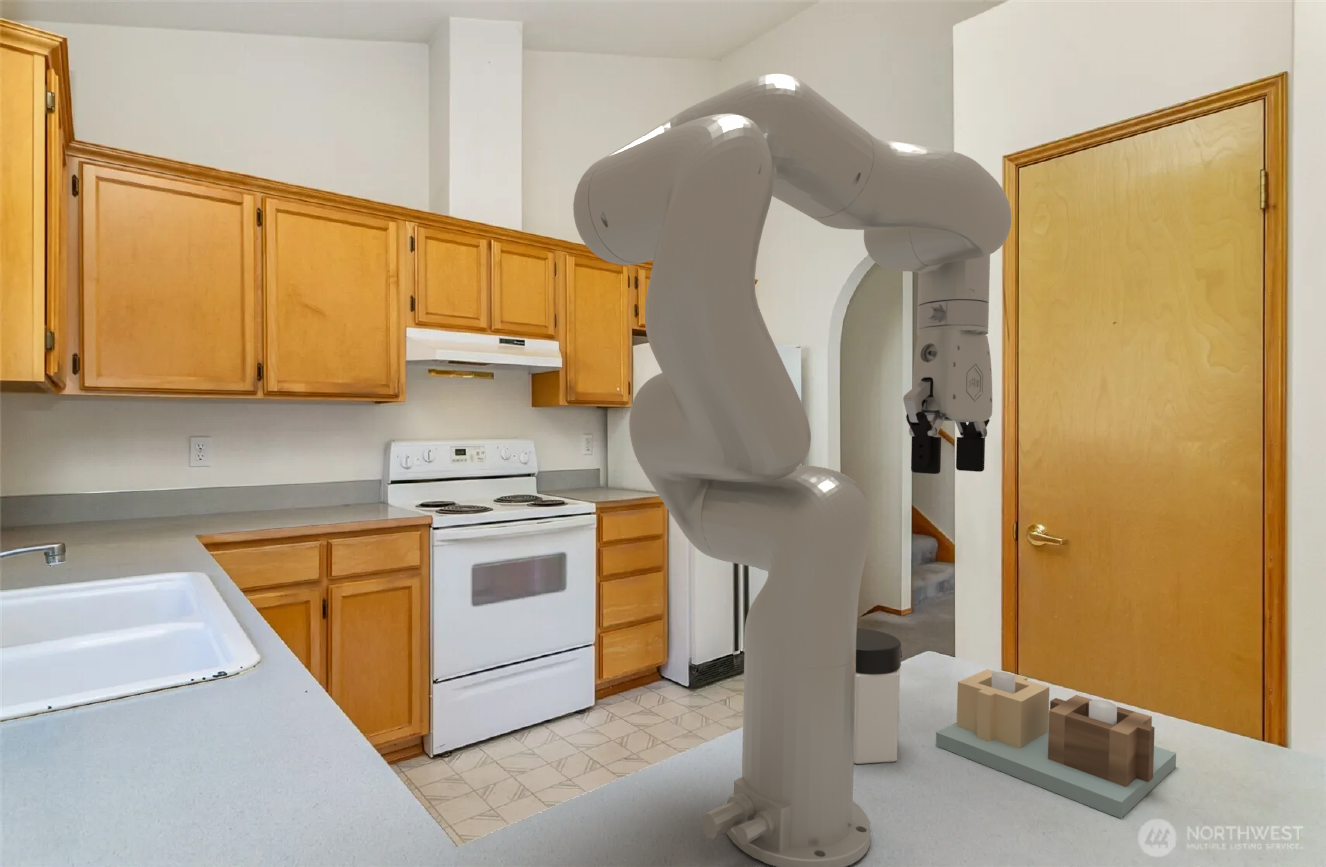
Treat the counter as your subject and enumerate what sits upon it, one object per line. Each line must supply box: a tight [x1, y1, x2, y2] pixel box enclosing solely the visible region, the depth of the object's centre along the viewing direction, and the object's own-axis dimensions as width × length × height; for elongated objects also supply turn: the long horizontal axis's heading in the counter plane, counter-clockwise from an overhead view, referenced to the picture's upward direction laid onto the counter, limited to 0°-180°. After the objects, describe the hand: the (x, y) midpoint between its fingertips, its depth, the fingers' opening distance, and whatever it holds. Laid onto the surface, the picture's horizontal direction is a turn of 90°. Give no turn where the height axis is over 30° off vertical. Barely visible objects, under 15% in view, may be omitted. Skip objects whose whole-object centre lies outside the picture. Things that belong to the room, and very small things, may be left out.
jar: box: [854, 627, 903, 765], centre depth 77 cm, size 9×8×12 cm
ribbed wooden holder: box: [1048, 694, 1155, 787], centre depth 71 cm, size 7×9×5 cm
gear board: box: [935, 669, 1177, 820], centre depth 75 cm, size 16×18×8 cm
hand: (948, 471), depth 79 cm, fingers open, 9 cm apart
